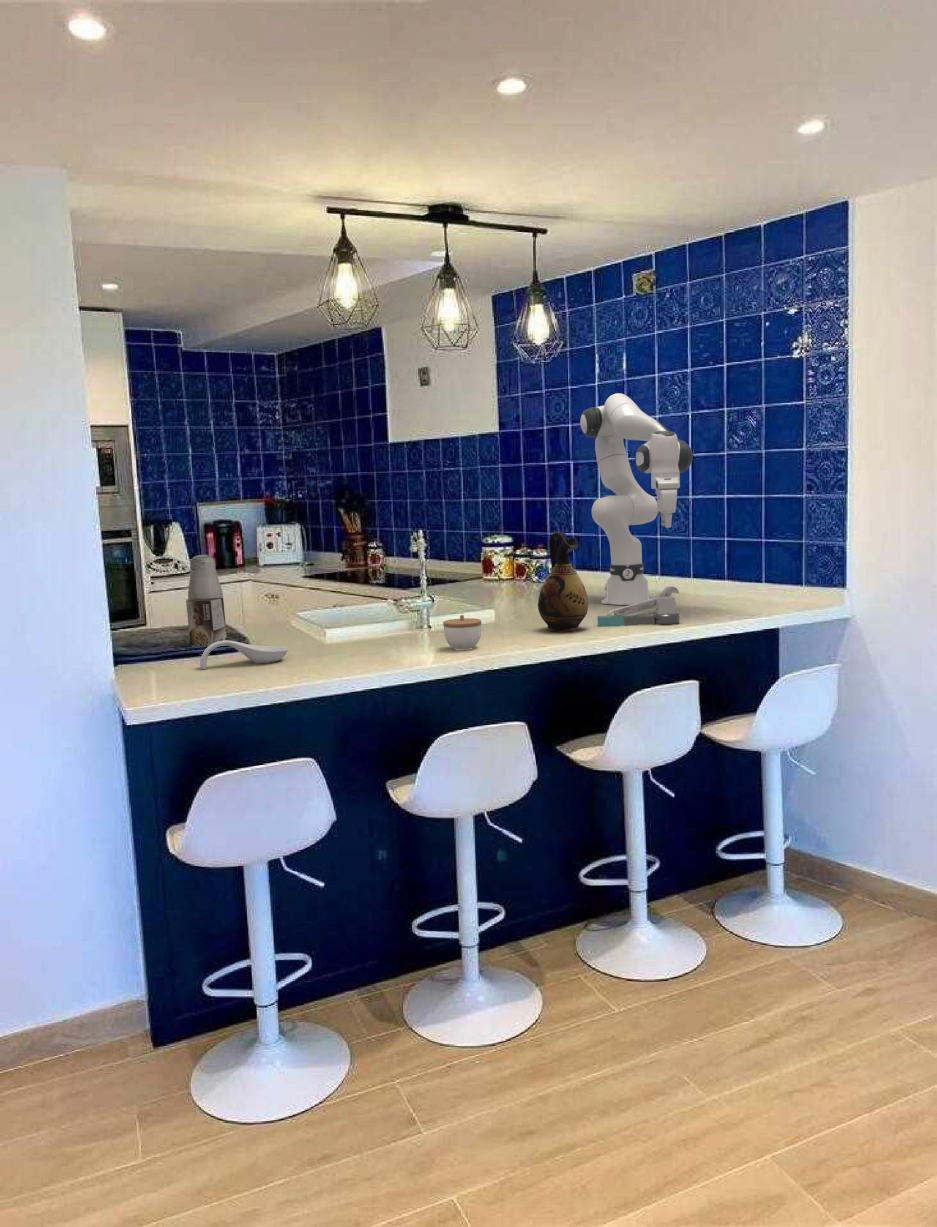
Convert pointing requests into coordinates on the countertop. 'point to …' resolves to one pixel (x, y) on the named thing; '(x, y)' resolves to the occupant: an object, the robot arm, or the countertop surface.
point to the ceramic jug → (562, 589)
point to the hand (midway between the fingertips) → (666, 526)
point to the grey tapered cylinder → (203, 578)
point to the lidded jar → (462, 632)
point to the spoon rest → (248, 652)
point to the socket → (666, 605)
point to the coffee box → (206, 621)
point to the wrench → (643, 603)
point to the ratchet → (638, 619)
